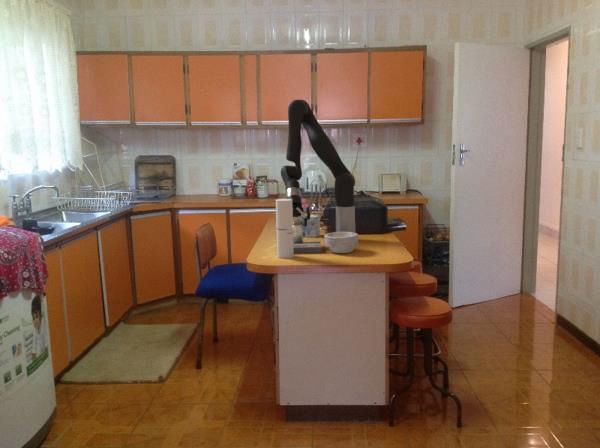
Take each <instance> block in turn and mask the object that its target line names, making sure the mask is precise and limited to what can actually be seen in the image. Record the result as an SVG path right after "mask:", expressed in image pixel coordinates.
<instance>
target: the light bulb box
mask: <svg viewBox="0 0 600 448" xmlns="http://www.w3.org/2000/svg"><path fill="white" fill-rule="evenodd" d="M304 215H306V216H307V214H305V213H304ZM320 216H321V215H320V214H310V220H307V226H306V227H304V220H303V219H301V218H300V217H299V216H298V217H296V221H301V222H303V238H305V237H306V238H318V237H319V236H320V235H321V218H320Z"/></svg>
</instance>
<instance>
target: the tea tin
mask: <svg viewBox="0 0 600 448" xmlns="http://www.w3.org/2000/svg"><path fill="white" fill-rule="evenodd" d="M303 242H304V237H303V222H301V221H297V220H295V221H294V220H293V244H303Z"/></svg>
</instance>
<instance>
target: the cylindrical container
mask: <svg viewBox="0 0 600 448" xmlns="http://www.w3.org/2000/svg"><path fill="white" fill-rule="evenodd" d="M275 218H276V220H275V223H276V225H275V226H276V250H277V251H276V252H277V253H276V254H277V255H276V256H277V258H278V259H291V258H294V256H295V255H294V254H295V253H294V251H293V221H294V217H293V208H292V199H286V198H278V199H275Z"/></svg>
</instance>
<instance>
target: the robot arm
mask: <svg viewBox="0 0 600 448" xmlns="http://www.w3.org/2000/svg"><path fill="white" fill-rule="evenodd" d="M287 115H288V116H287V117H288V136H287V146H286V155H285V157H286V160H287V161H288V162H292V163H294V165H284V166H282V168H281V170H280V177H281V179H282V181H283V183H284V186H285V199H292V208H293V218H297V217H298V216H299V217H300V218H301V219H303V220H304V227H306V226H307V220H310V215H311V211H310V207H309V206H306V207H303V202H302V201H303V199H302V193H301V187H300V186H301V184H300V182H299V180H301V179H302V177H303V170H302V164H301V156H302V155H301V153H302V147H303V146H302V133H301V132H302V131H301V130H302V126H303V129H305V132H306V134H307V135H306V136H307V138H308V141H309V144H310V146H311V147H312V149H313V151H314V153H315V154H316V155H317V157H318V158H319V159H320V160H321V162H322V163H323V164H324V165H325V166H326V167H328V169H329V171H330V172H331V174H332V175H333V177H334V180H335V181H334V201H335V232H354V233H356V220H355V219H356V217H355V212H356V209H355V207H356V206H355V189H354V188H355V186H356V179H355V177H354V175H353V174H352V172H351V171H350V170H349V168H348V167H347V166H346V165H345V164H344V162H343V161H342V159H341V157H340V155H339V153H338V151H337V150H336V148H335V146H334V144H333V142H332V141H331V140H330V137H329V136H328V135H327V133H326V131H325V130H324V129H323V127H322V126H321V124H320V123H319V121H317V118H316V117H315V115H314V112H313V110H312V108H311V106H310V104H309V103H308V102H307V101H306V100H304V99H293V100H292V101H290V102H289V104H288V106H287ZM304 212H305V213H306V214H305V213H304ZM304 214H305V215H304ZM306 215H307V216H306Z"/></svg>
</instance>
